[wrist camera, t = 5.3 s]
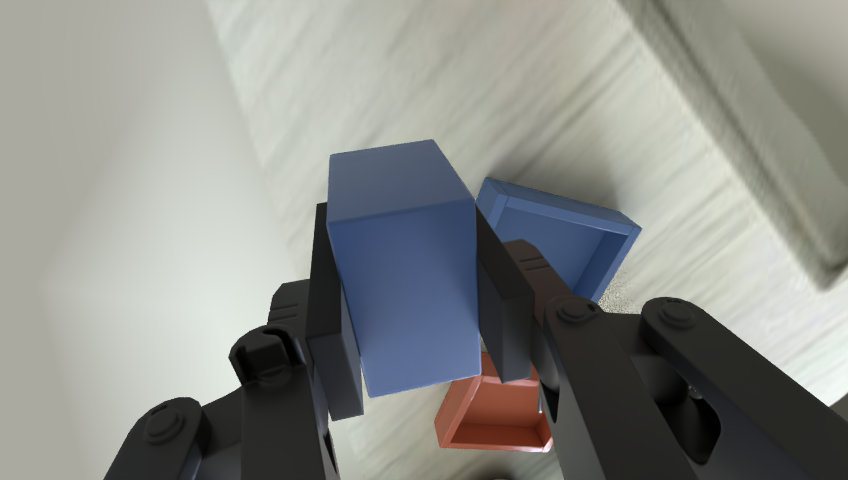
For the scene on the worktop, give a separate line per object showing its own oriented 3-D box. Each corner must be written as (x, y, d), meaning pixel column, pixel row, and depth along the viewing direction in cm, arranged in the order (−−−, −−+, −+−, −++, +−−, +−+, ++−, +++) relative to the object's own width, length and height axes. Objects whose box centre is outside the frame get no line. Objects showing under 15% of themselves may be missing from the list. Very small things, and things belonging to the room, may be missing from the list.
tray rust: (433, 422, 36) (439, 448, 34) (467, 350, 33) (475, 374, 31) (536, 428, 39) (547, 452, 37) (577, 363, 36) (592, 386, 34)
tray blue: (441, 287, 29) (449, 309, 27) (485, 177, 26) (498, 193, 24) (566, 307, 32) (582, 329, 30) (620, 211, 29) (643, 228, 27)
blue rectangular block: (329, 153, 14) (324, 223, 9) (433, 138, 14) (476, 198, 10) (360, 298, 17) (369, 400, 12) (446, 281, 17) (482, 375, 13)
